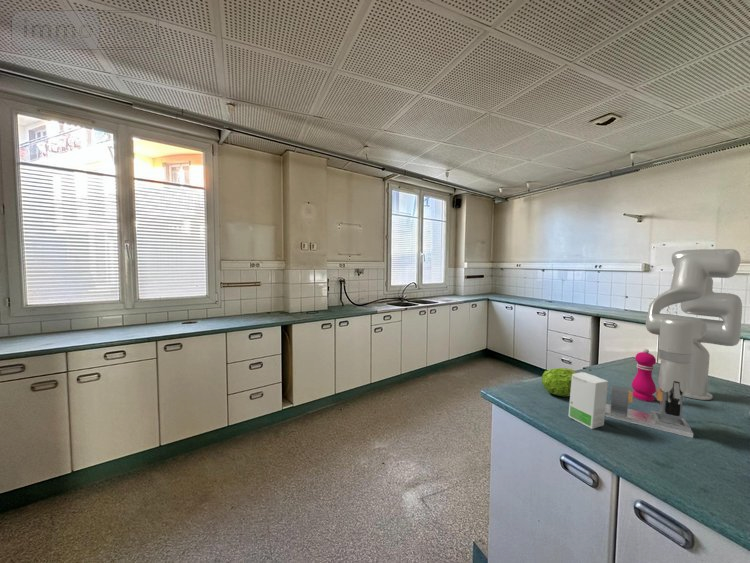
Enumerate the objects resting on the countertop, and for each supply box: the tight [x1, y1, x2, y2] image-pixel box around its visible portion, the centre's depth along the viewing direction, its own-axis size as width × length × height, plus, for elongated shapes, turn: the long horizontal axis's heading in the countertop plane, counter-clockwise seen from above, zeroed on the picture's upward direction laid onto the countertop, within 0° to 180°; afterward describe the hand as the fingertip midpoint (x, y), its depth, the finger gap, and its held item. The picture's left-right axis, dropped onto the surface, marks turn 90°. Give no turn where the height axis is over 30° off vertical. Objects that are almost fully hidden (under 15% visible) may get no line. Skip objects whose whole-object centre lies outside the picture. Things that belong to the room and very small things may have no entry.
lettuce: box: [541, 367, 578, 397], centre depth 123 cm, size 12×24×13 cm
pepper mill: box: [631, 348, 657, 402], centre depth 116 cm, size 7×7×20 cm
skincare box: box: [568, 371, 609, 430], centre depth 99 cm, size 8×7×16 cm
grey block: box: [655, 387, 684, 420], centre depth 95 cm, size 6×4×8 cm
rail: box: [605, 384, 694, 439], centre depth 99 cm, size 8×22×10 cm, turn 54°
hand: (670, 410), depth 95 cm, fingers closed on grey block, 4 cm apart
